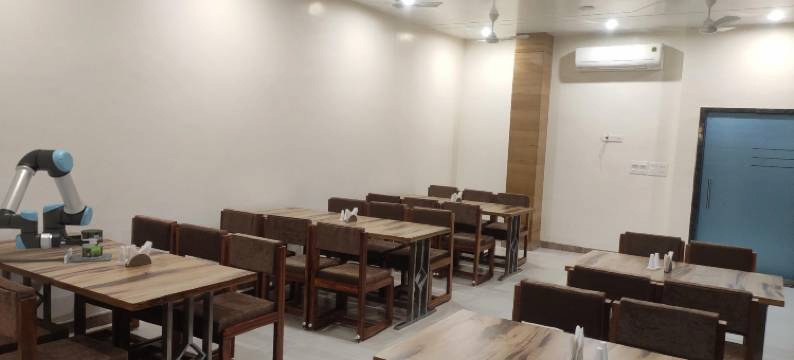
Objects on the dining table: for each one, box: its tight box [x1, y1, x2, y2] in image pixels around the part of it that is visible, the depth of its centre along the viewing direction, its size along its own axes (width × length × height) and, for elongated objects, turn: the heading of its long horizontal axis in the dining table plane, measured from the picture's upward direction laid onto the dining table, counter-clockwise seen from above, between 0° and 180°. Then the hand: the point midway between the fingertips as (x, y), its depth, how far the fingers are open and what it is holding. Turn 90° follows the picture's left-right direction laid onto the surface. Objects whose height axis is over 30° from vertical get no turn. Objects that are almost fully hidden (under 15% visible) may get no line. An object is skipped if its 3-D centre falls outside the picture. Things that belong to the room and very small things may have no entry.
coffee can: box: [80, 228, 104, 259], centre depth 307 cm, size 10×10×14 cm
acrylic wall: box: [63, 247, 73, 265], centre depth 303 cm, size 24×1×4 cm, turn 23°
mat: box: [70, 252, 113, 263], centre depth 307 cm, size 18×18×1 cm
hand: (97, 239), depth 308 cm, fingers open, 13 cm apart
